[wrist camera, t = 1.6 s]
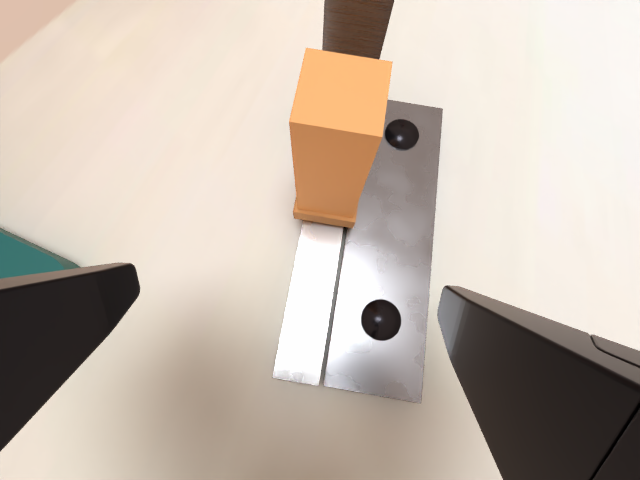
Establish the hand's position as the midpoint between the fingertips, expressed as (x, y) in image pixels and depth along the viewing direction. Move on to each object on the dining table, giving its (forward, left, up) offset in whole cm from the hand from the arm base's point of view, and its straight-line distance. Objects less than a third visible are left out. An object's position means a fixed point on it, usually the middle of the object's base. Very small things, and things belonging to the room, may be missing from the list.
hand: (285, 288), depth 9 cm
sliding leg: (+7, -4, -11) cm, 14 cm away
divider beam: (+6, -3, -13) cm, 15 cm away
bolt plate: (+4, -8, -13) cm, 15 cm away
